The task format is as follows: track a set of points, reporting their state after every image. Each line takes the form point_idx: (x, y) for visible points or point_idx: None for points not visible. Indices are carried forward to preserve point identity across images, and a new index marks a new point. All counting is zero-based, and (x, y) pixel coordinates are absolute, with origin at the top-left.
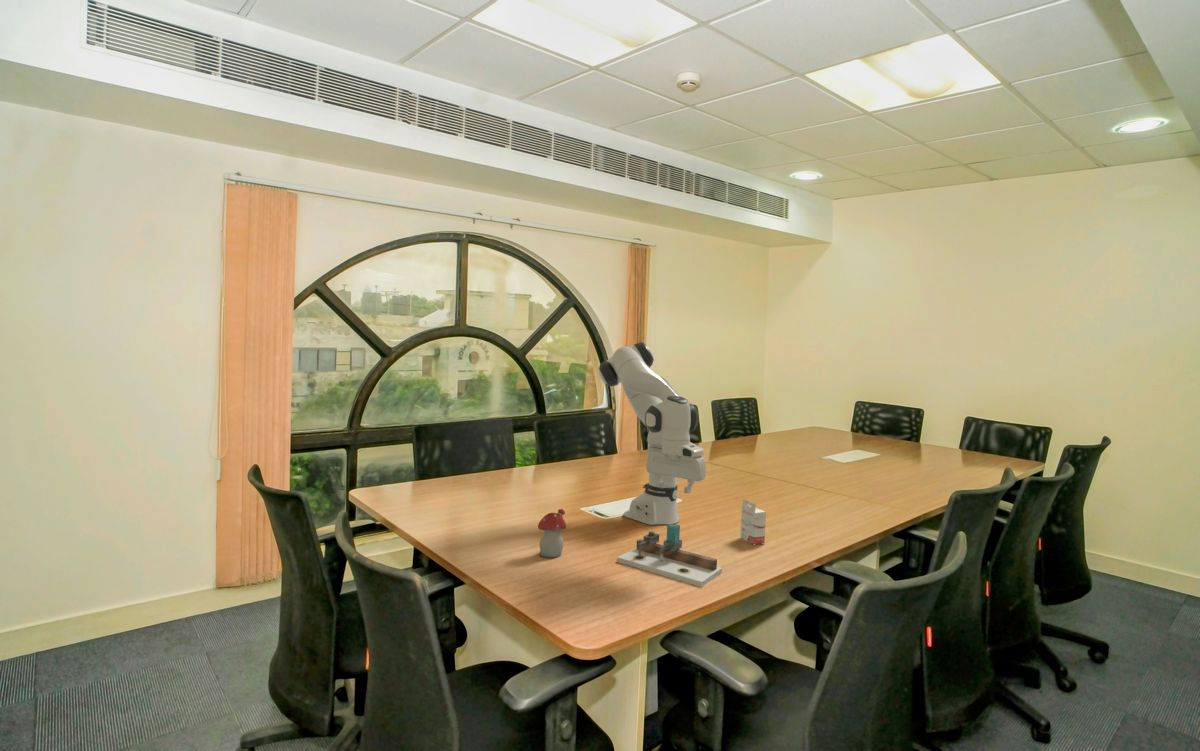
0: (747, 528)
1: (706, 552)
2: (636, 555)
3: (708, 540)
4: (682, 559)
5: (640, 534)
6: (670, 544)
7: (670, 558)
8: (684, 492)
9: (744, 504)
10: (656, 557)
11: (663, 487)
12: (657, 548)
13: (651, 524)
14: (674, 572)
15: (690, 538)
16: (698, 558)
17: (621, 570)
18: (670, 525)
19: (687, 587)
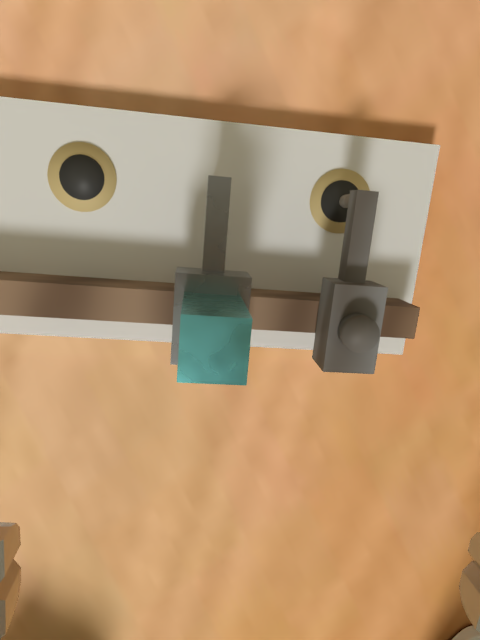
0: None
1: (135, 497)
2: None
3: (190, 620)
4: (141, 282)
5: (462, 512)
6: (203, 273)
7: None
8: (11, 523)
9: None
10: (274, 261)
11: (475, 573)
12: (290, 296)
13: (464, 630)
14: (111, 125)
15: (263, 596)
16: (40, 280)
17: (366, 56)
18: (233, 336)
19: (3, 46)
